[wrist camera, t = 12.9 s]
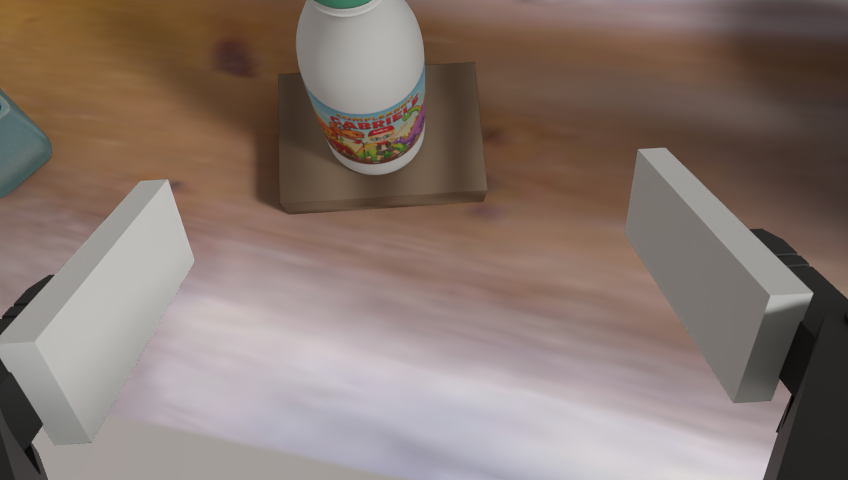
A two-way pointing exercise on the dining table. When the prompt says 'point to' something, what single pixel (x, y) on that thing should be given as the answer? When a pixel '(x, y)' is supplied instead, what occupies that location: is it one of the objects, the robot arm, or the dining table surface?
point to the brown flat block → (408, 186)
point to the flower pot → (19, 146)
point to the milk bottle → (365, 80)
